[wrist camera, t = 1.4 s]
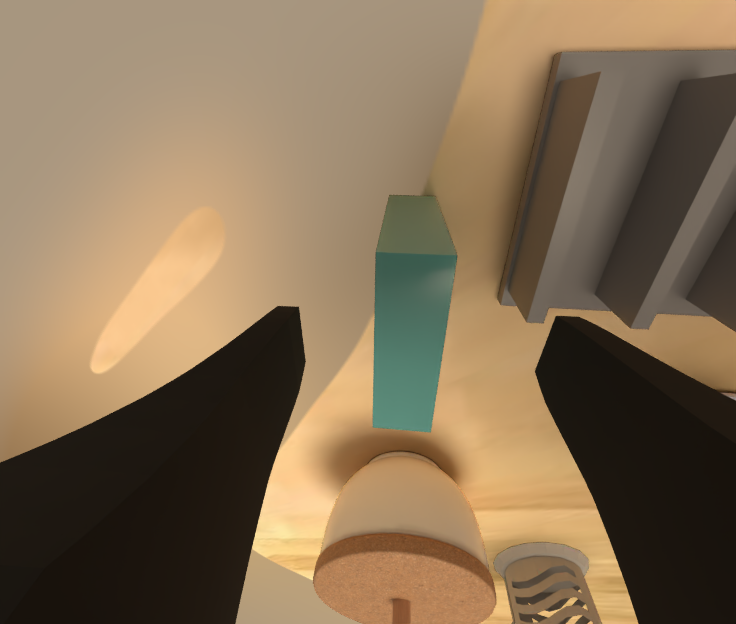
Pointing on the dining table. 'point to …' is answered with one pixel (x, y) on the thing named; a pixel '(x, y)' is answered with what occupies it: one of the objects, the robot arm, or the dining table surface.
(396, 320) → the teal upright slab
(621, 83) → the rack
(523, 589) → the french press
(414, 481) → the lidded bowl
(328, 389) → the dining table surface
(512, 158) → the dining table surface
